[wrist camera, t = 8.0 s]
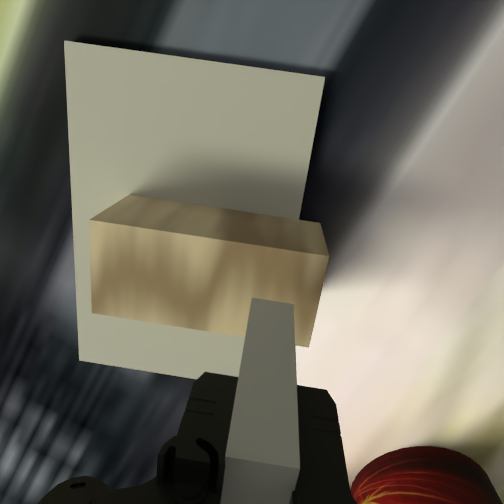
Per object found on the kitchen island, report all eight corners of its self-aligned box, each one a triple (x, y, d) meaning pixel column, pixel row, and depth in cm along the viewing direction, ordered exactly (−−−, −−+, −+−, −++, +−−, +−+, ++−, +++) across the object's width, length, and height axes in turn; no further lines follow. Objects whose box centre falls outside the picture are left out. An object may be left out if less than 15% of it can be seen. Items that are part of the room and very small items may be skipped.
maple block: (320, 223, 20) (129, 194, 20) (329, 256, 16) (88, 219, 16) (304, 299, 22) (128, 272, 22) (308, 347, 18) (91, 313, 18)
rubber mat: (70, 42, 18) (64, 40, 18) (323, 77, 18) (325, 77, 17) (83, 354, 25) (79, 360, 25) (267, 383, 25) (267, 390, 24)
